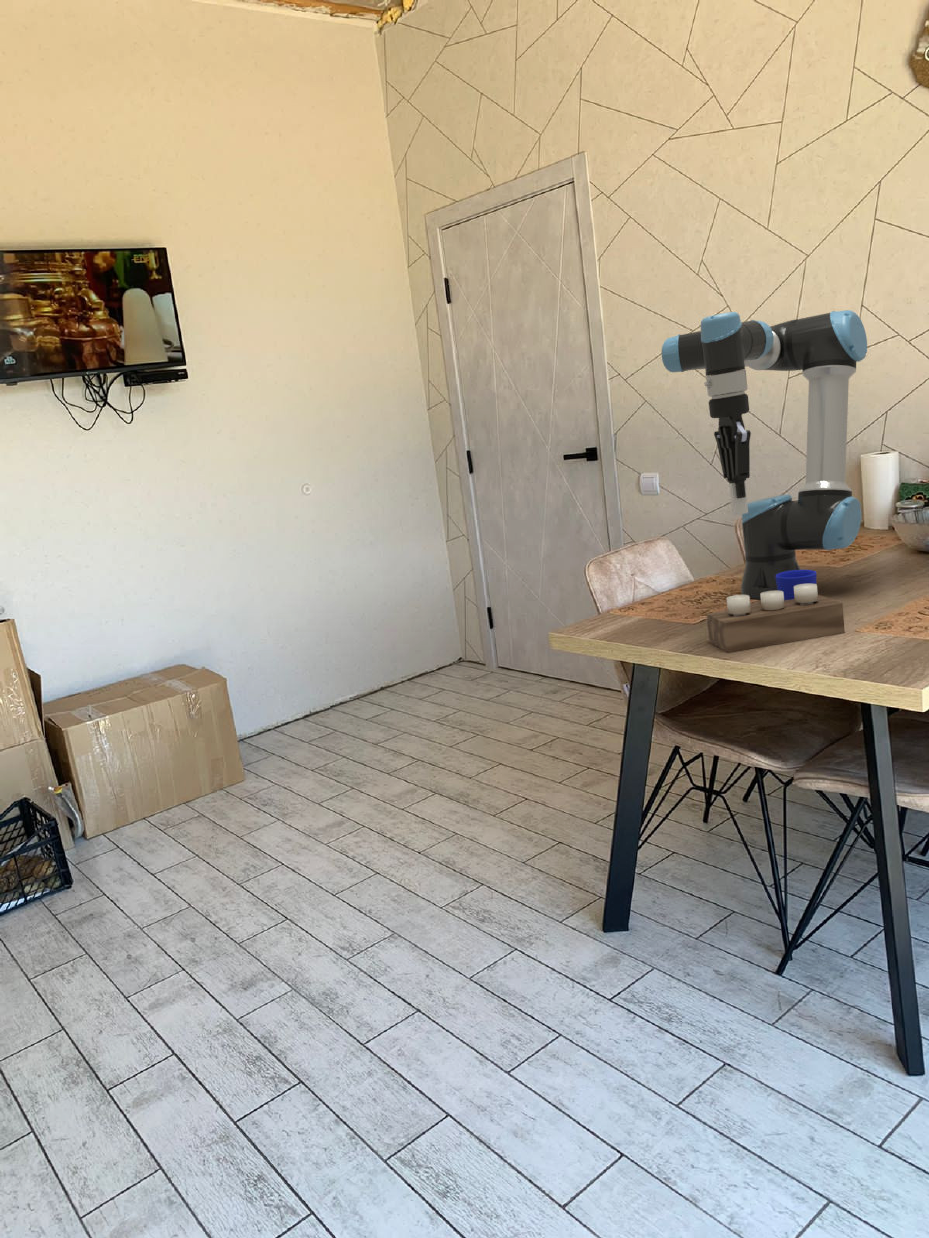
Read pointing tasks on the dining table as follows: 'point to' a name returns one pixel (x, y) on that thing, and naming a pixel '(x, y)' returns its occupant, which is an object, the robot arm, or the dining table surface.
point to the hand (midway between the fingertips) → (740, 513)
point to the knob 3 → (805, 593)
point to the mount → (775, 624)
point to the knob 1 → (738, 605)
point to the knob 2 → (772, 600)
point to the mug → (793, 581)
